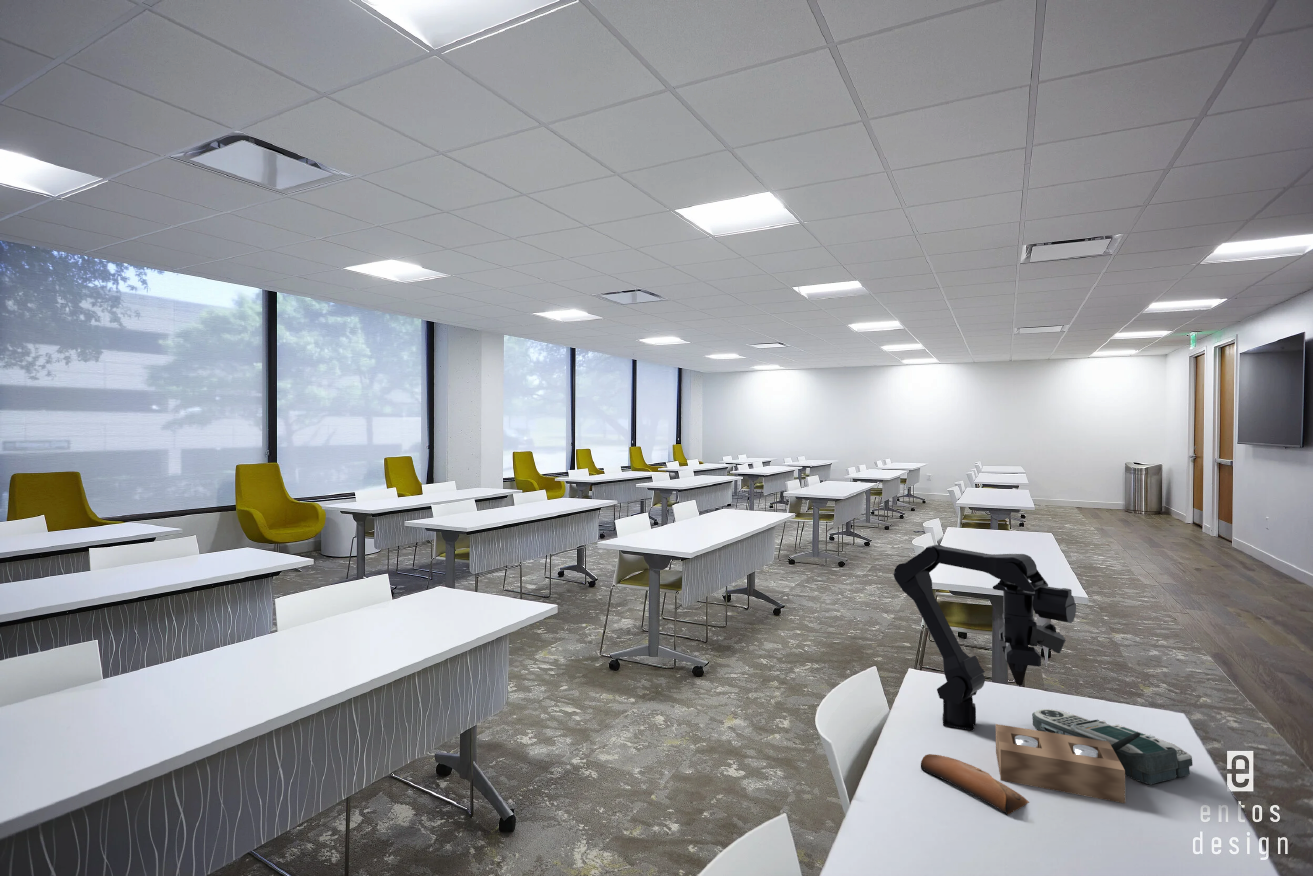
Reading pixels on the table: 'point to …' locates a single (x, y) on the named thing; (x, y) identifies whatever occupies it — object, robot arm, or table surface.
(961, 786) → the sunglasses case
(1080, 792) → the pin block
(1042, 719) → the communication device
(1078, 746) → the pin
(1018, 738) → the pin
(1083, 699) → the table surface
